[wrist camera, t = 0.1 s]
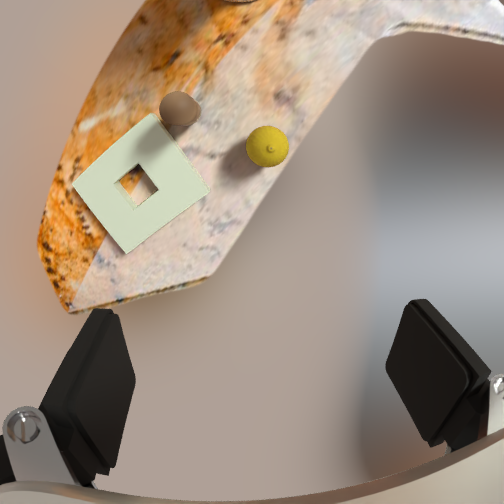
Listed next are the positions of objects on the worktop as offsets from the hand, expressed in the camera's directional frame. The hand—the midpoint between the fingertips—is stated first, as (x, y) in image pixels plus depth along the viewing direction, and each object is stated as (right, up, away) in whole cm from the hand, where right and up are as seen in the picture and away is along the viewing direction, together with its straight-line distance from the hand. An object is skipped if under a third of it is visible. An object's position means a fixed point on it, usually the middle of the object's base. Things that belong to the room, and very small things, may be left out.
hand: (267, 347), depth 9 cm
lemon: (+1, +18, +33) cm, 38 cm away
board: (-17, +13, +33) cm, 40 cm away
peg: (-9, +23, +30) cm, 39 cm away
